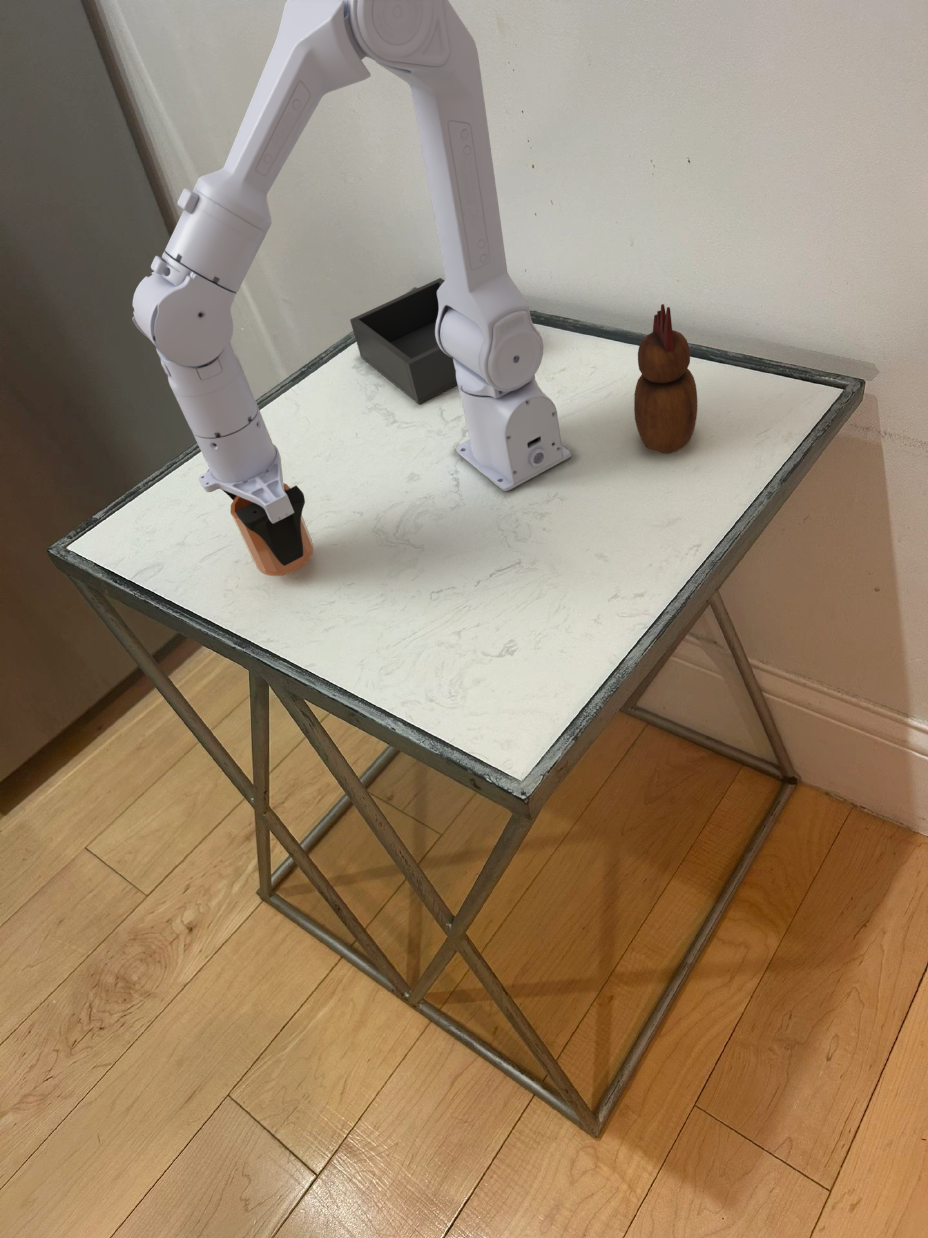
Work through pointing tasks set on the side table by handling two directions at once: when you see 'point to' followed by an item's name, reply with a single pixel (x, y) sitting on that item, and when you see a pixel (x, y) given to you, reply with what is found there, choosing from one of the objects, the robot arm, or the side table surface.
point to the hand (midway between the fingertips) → (278, 542)
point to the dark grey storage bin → (407, 343)
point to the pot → (261, 551)
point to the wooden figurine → (665, 388)
